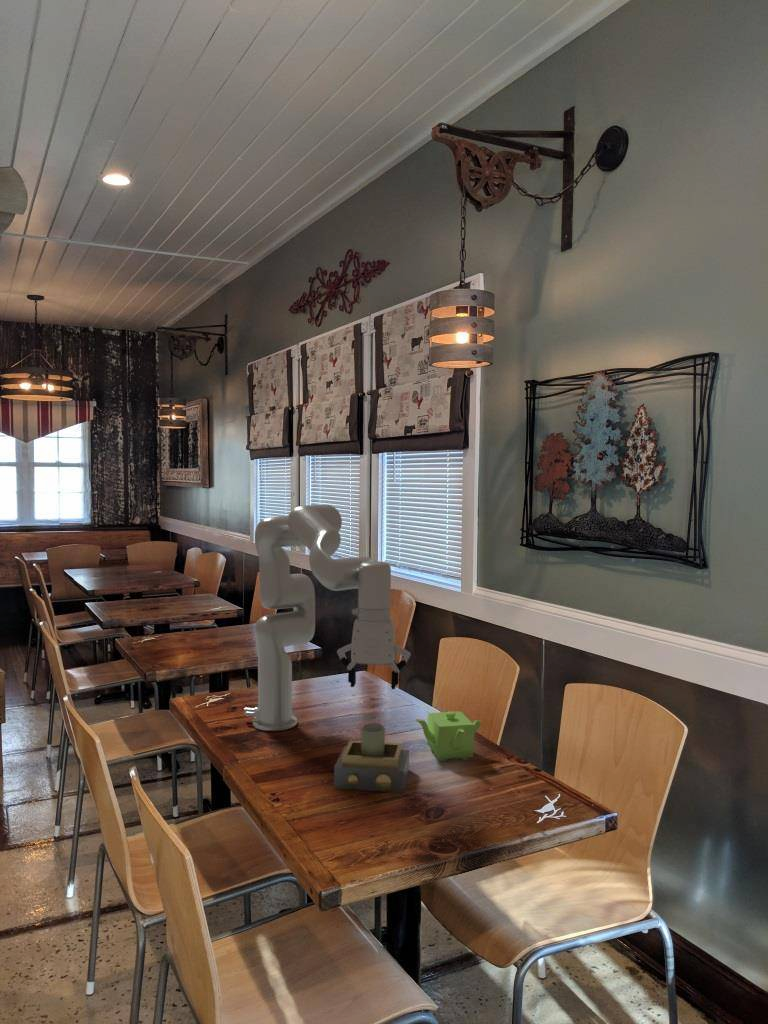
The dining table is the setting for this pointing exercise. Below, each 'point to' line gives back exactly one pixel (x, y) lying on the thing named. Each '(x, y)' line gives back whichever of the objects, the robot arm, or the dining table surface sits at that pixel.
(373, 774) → the toy stove
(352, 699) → the dining table surface
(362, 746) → the pale green cup
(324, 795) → the dining table surface
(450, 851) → the dining table surface
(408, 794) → the dining table surface
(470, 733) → the kettle
